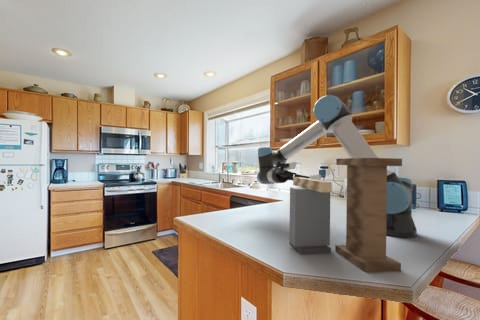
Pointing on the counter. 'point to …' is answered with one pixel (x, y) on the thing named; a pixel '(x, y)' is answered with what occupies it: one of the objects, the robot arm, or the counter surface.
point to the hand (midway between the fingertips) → (308, 171)
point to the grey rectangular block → (309, 221)
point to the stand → (367, 214)
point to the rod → (313, 184)
